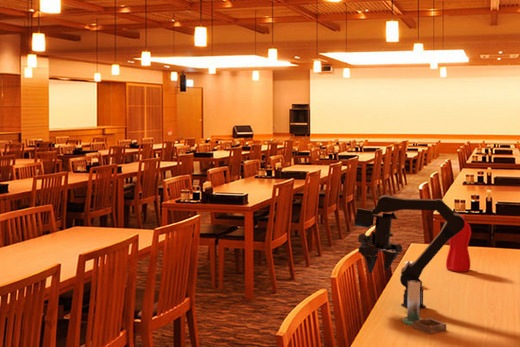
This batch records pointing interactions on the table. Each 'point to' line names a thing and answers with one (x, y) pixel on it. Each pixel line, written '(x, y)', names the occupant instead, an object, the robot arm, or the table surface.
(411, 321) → the shiny teal dome
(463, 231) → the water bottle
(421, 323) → the open brown square box
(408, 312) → the peg
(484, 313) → the table surface
